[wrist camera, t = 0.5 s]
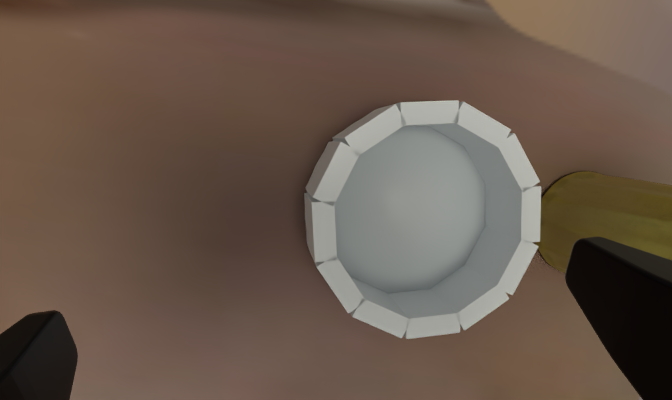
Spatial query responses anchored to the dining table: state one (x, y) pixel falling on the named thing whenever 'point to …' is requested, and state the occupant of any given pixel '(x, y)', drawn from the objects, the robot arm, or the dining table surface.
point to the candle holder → (423, 217)
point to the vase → (604, 215)
